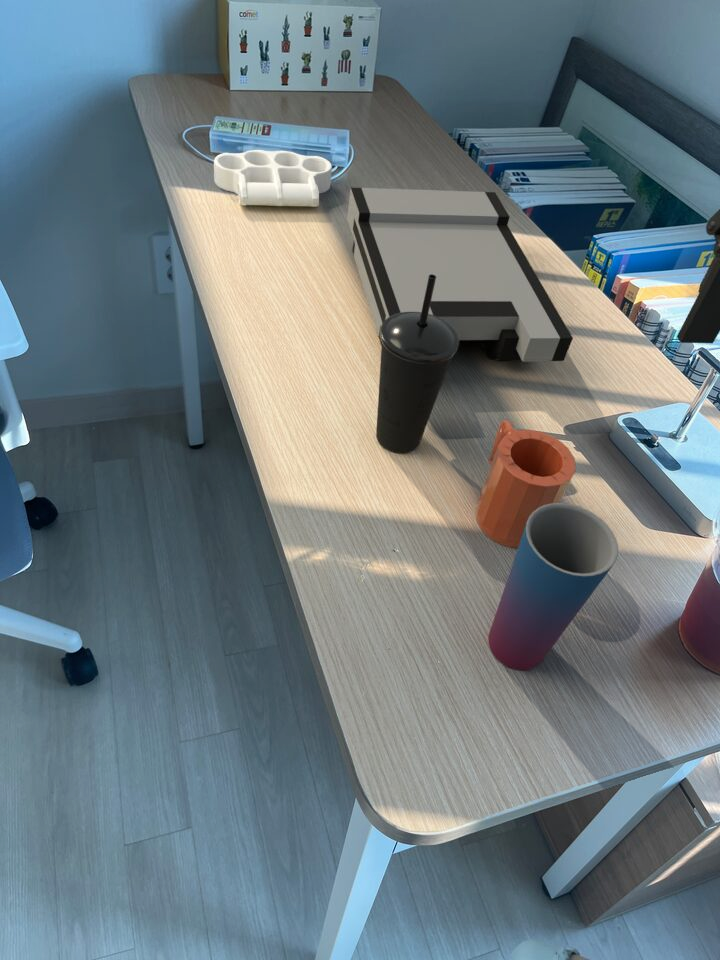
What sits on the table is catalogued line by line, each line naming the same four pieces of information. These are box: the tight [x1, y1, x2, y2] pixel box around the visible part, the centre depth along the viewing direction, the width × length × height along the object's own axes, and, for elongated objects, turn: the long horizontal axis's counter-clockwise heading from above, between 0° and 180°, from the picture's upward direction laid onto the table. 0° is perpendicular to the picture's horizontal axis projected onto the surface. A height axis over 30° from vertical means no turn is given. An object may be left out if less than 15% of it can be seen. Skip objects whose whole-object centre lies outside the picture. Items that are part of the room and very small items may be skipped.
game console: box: [346, 186, 574, 363], centre depth 97 cm, size 21×32×8 cm, turn 10°
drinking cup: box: [375, 274, 460, 454], centre depth 75 cm, size 8×8×20 cm
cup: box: [487, 502, 619, 671], centre depth 60 cm, size 7×7×15 cm
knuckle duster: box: [213, 149, 333, 208], centre depth 115 cm, size 3×18×15 cm
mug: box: [475, 419, 577, 549], centre depth 73 cm, size 10×7×9 cm
